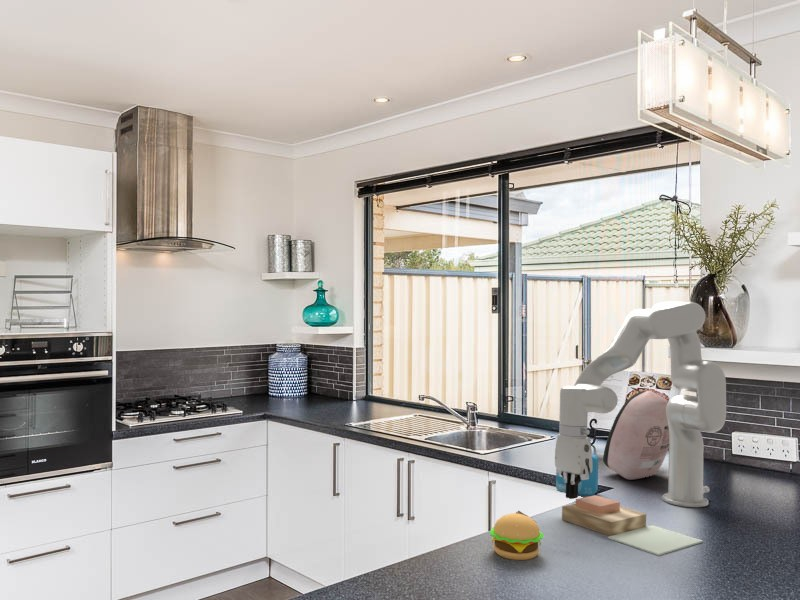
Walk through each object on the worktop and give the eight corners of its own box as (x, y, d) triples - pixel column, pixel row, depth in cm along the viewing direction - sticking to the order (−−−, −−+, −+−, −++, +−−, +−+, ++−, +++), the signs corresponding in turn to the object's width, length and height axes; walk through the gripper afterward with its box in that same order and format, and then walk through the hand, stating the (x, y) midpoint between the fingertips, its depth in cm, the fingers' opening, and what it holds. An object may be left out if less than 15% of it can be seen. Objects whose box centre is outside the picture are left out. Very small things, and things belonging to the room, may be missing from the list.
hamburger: (511, 540, 165) (512, 504, 165) (553, 554, 156) (554, 516, 156) (478, 551, 157) (479, 513, 157) (521, 567, 148) (522, 526, 148)
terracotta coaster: (595, 502, 188) (595, 495, 188) (619, 509, 181) (619, 502, 181) (575, 506, 183) (575, 499, 183) (600, 514, 177) (600, 506, 177)
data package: (555, 491, 212) (556, 452, 213) (558, 488, 216) (559, 450, 217) (595, 496, 207) (596, 457, 208) (597, 493, 211) (598, 454, 212)
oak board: (596, 511, 191) (596, 499, 191) (646, 527, 178) (646, 513, 178) (561, 519, 183) (562, 506, 183) (611, 536, 170) (611, 522, 170)
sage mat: (652, 526, 179) (652, 525, 179) (702, 542, 167) (702, 540, 167) (608, 538, 168) (608, 536, 168) (658, 555, 157) (658, 553, 157)
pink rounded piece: (634, 468, 247) (636, 385, 248) (683, 480, 231) (685, 391, 232) (594, 475, 235) (596, 387, 236) (643, 488, 219) (645, 394, 219)
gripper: (604, 434, 186) (602, 502, 185) (561, 426, 198) (560, 489, 198) (585, 436, 181) (584, 506, 181) (543, 428, 194) (542, 493, 193)
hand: (571, 497), depth 189 cm, fingers closed
